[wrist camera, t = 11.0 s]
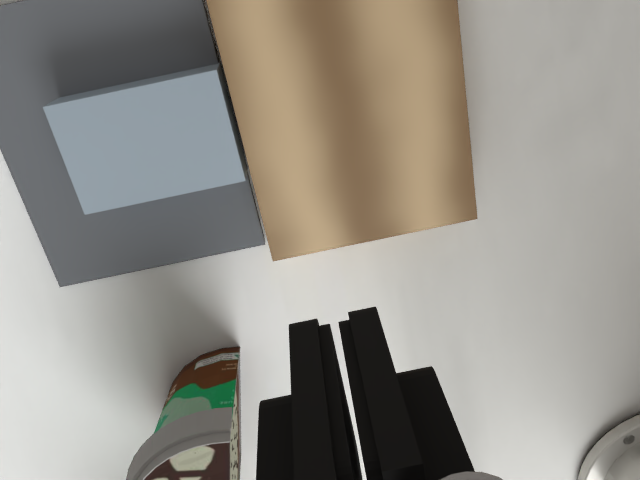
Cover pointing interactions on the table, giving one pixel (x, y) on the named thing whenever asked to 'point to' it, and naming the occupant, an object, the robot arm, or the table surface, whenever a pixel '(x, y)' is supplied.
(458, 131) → the wooden block
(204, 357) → the food container
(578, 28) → the table surface
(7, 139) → the mat
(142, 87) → the tile
